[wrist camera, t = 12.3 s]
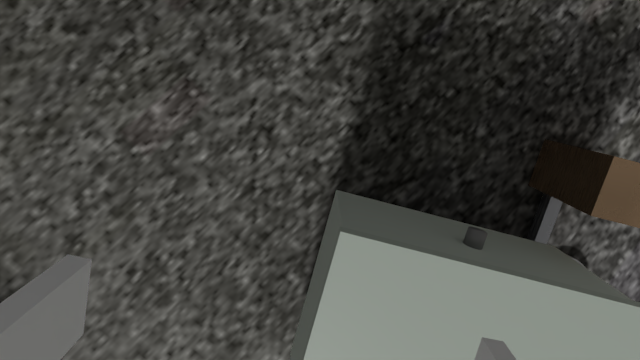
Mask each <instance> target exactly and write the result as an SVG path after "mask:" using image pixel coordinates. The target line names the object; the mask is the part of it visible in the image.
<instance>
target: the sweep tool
mask: <svg viewBox="0 0 640 360" xmlns="http://www.w3.org/2000/svg"><path fill="white" fill-rule="evenodd" d="M528 185H529V186H531V187H533V188H535V189H537V190H539V191H541V192H543V195H542V198H541V201H540V203H539V206H538V209H537V211H536V214H535V217H534V220H533V222H532V225H531V228H530V230H529V233H528V236H527V238H526V239H528V240H532V241H536V242H540V243H544V244H547V242H548V240H549V237H550V234H551V232H552V229H553V227H554V224H555V221H556V219H557V216H558V213H559V211H560V208H561V205H562V203H563V202H564V203H566V204H568V205H570V206H572V207H574V208H576V209H578V210H580V211H582V212H584V213H586V214H588V215H591V216H594V217H598V218H602V219H606V220H610V221H614V222H618V223H622V224H626V225H630V226H634V227H638V228H640V163H638V162H634V161H630V160H626V159H622V158H619V157H615V156H611V155H607V154H603V153H599V152H594V151H590V150H586V149H582V148H578V147H574V146H570V145H566V144H562V143H558V142H554V141H550V140H546V139H545V140H544V143H543V145H542V148H541V151H540V154H539V157H538V159H537V162H536V165H535V168H534V170H533V173H532V176H531V179H530V182H529V184H528Z"/></svg>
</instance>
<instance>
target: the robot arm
mask: <svg viewBox="0 0 640 360" xmlns="http://www.w3.org/2000/svg"><path fill="white" fill-rule="evenodd" d="M91 262H92V259H88V258H83V257H78V256H73V255H66V256H65V257H64V258H62V259H61V260H60V261H58V262H57V263H55V264H54V265H53V266H51V267H50V268H48V269H47V270H46V271H44V272H43V273H41V274H40V275H39V276H37V277H36V278H34V279H33V280H32V281H30V282H29V283H27V284H26V285H25V286H23V287H22V288H20V289H19V290H18V291H16V292H15V293H14V294H12V295H11V296H9V297H8V298H7V299H5V300H4V301H2V302H1V303H0V360H60V359H61V358H62V357H63V356H64V355H65V354H66V353H67V352H68V351H69V349H70V348H71V347H72V346H73V345H74V344H75V343H76V342H77V341H78V340H79V338H80V337H81V336H82V335H83V332H84V323H85V314H86V306H87V297H88V288H89V279H90V271H91ZM475 360H516V358H515V357H514V355H513V354H512V353H511V351H510V350H509V348H508V347H507V345H506V344H505V343H504V341H499V340H494V339H489V338H484V337H482V339H481V342H480V345H479V348H478V351H477V354H476V357H475Z"/></svg>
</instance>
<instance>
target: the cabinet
mask: <svg viewBox="0 0 640 360" xmlns="http://www.w3.org/2000/svg"><path fill="white" fill-rule="evenodd" d="M482 337H484V338H489V339H494V340H499V341H504V343H505V344H506V345H507V347H508V348H509V350H510V351H511V353H512V354H513V355H514V357H515V358H516V360H640V303H639V302H636V301H633V300H631V299H630V298H628V297H627V296H625V295H624V294H622V293H621V292H620V291H618V290H617V289H615V288H614V287H612V286H611V285H610V284H608V283H607V282H605V281H604V280H602V279H601V278H599V277H598V276H597V275H595V274H594V273H592V272H591V271H589V270H588V269H586V268H585V267H584V266H582V265H581V264H579V263H578V262H576V261H575V260H573V259H572V258H571V257H569V256H568V255H566V254H565V253H563V252H562V251H560V250H559V249H558V248H556V247H555V246H551V245H548V244H544V243H540V242H536V241H532V240H528V239H524V238H521V237H517V236H513V235H509V234H505V233H501V232H497V231H494V230H490V229H486V228H482V227H478V226H474V225H470V224H467V223H463V222H459V221H455V220H451V219H447V218H443V217H439V216H436V215H432V214H428V213H424V212H420V211H416V210H412V209H409V208H405V207H401V206H397V205H393V204H389V203H385V202H382V201H378V200H374V199H370V198H366V197H362V196H358V195H354V194H351V193H347V192H343V191H339V190H336V192H335V196H334V200H333V203H332V207H331V210H330V214H329V217H328V221H327V224H326V228H325V232H324V235H323V239H322V242H321V246H320V249H319V253H318V256H317V260H316V264H315V267H314V271H313V274H312V278H311V281H310V285H309V288H308V292H307V296H306V299H305V303H304V306H303V310H302V313H301V317H300V320H299V324H298V328H297V331H296V335H295V338H294V342H293V345H292V349H291V355H290V360H475V357H476V354H477V351H478V348H479V345H480V342H481V339H482Z"/></svg>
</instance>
